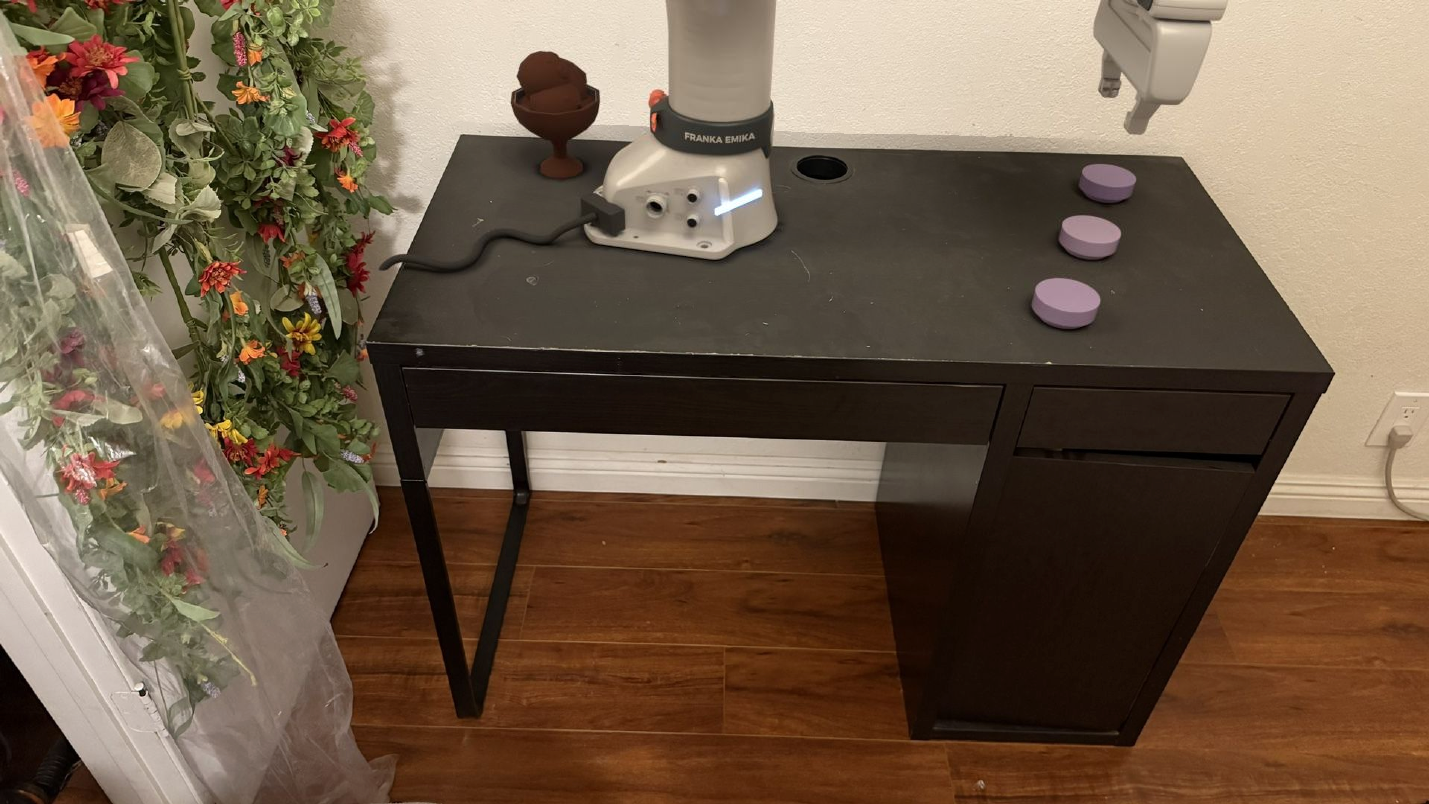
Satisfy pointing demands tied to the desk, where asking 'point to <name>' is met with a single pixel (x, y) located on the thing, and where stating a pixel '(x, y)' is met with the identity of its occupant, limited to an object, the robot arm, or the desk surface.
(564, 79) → the ice cream bowl
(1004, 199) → the desk surface
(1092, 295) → the dish front
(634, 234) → the robot arm
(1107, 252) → the dish top
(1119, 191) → the dish bottom
